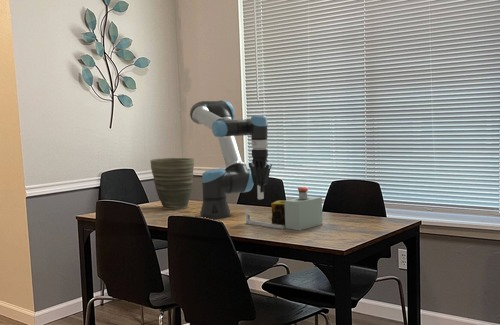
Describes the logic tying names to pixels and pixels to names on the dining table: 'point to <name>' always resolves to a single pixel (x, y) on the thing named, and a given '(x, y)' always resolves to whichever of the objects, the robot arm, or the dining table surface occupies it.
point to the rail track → (263, 223)
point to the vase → (173, 181)
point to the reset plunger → (303, 193)
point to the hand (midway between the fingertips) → (260, 198)
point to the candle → (278, 212)
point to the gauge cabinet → (303, 213)
